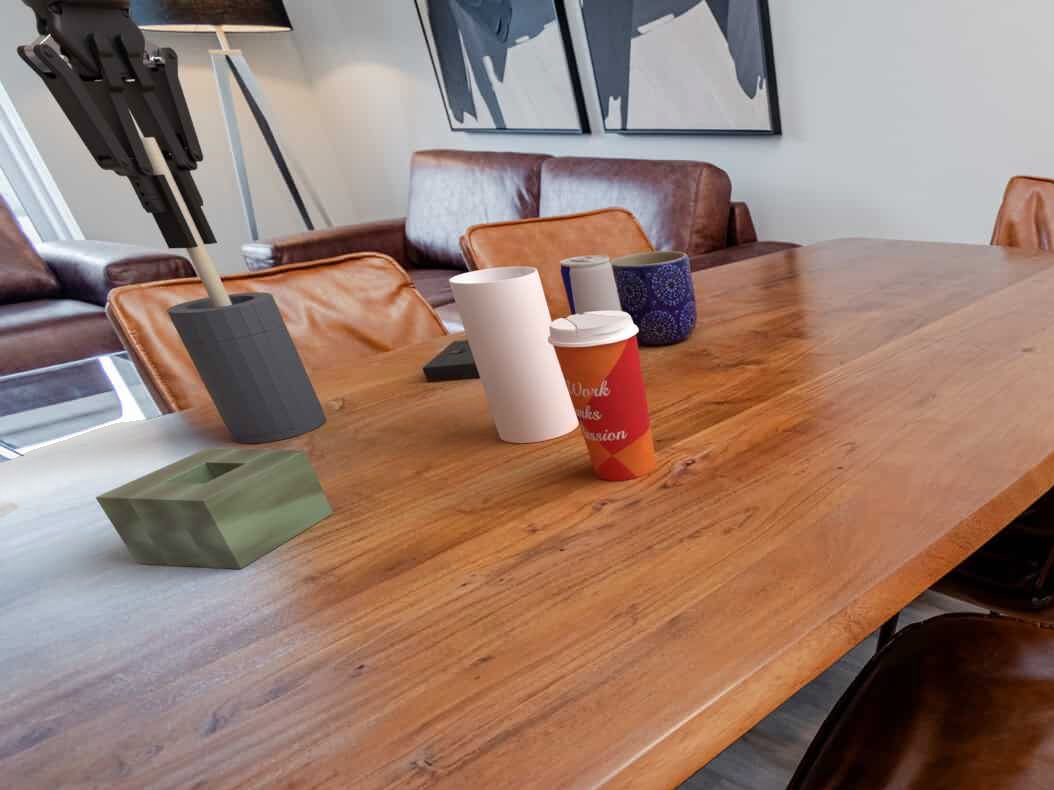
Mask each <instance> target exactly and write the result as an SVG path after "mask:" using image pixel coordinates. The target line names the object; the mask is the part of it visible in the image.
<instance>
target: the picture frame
mask: <svg viewBox="0 0 1054 790" xmlns="http://www.w3.org/2000/svg"><path fill="white" fill-rule="evenodd" d="M422 371H423V373H424V376H425V379H426V382H427V383H435V382H446V381H455V380H456V381H457V380H467V379H468V380H469V379H478V378H479V379H480V376H479V373H478V369H477V366H476V363H475V360H474V357H473V354H472V351H471V348H470V345H469V342H468V339H466V340H465V339H464V340H454V341H452V342H451V343H450V344H448V345H447V346H446V347H445V348H444V349H443V350H442V351H440V352H439V353H438V354H436V356H434V357H433V358H432V359H431V360H429V362H428V363H426V364H425V365H424V366H423V367H422Z"/></svg>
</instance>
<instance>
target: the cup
mask: <svg viewBox="0 0 1054 790" xmlns="http://www.w3.org/2000/svg"><path fill="white" fill-rule="evenodd" d="M448 283H449V286H450V290H451V292H452V293H451V294H452V296H453V299H454V301H455V304H456V308H457V311H458V315H459V317H460V320H461V324H462V326H463V330H464V333H465V336H466V340H468V342H469V345H470V348H471V351H472V354H473V357H474V360H475V363H476V366H477V369H478V373H479V376H480V378H479V379H480V382H481V385H482V387H483V391H484V393H485V397H486V400H487V403H488V406H489V409H490V412H491V415H492V418H493V422H494V424H495V428H496V431H497V433H498V437H499V438H500V440H502V441H504V442H506V443H512V444H533V443H541V442H544V441H550V440H554V439H556V438H560V437H563V436H565V435H567V434H569V433H571V432H573V431H574V430H575V429H576V428H578V426H579V422H578V419H577V416H576V413H575V410H574V407H573V404H572V401H571V398H570V395H569V392H568V389H567V386H566V383H565V380H564V377H563V374H562V371H561V368H560V365H559V362H558V359H557V356H556V353H555V350H554V347H553V345H551V344H550V343H548V337H549V336H550V329H549V326H550V323H551V322H553V321H552V317H551V315H550V311H549V306H548V303H547V300H546V295H545V292H544V288H543V284H542V281H541V276H540V274H539V271H538V268H536V267H532V266H501V267H493V268H485V269H478V270H473V271H468V272H464V273H461V274H457V275H454V276H452V277H450V278H449V279H448Z"/></svg>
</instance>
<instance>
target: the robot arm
mask: <svg viewBox="0 0 1054 790" xmlns="http://www.w3.org/2000/svg"><path fill="white" fill-rule="evenodd" d="M21 2H22V3H23V4H24V6H26V7H28V8H29V9H31V10H32V11H33V13H34V16H35V21H36V23H35V25H36V30H37V33H38V35H39V36H38V37H37V38H36V39H35V40H34V41H33V42H32V43H30V44H24V45H18V46H17V47H16V52H17V54H18V56H19V57H20V59H21V60H22V61H23V62H24V63H25V64H26V65H27V66H28V67H29V68H31V70H32V71H34V73H35V74H36V75H37V76H38V77H39V78H40V79H41V80H42V82H43V83H44V85H45V86H46V88H47V89H48V91H49V93H50V94H51V95H52V97H53V99H54V100H55V102H56V103H57V105H58V106H59V108H60V109H61V110H62V112H63V114H64V115H65V116H66V118H67V120H68V121H69V123H70V124H71V126H72V128H73V129H74V131H75V132H76V133H77V135H78V136H79V138H80V139H81V141H82V143H83V144H84V146H85V147H86V149H87V150H88V152H89V154H90V155H91V156H92V157H93V159H94V161H95V163H96V164H97V165H98V166H99V168H101V169H102V170H104V171H113V172H114V173H115V174H116V175H117V176H120V177H127V179H128V181H129V182H130V185H131V186H132V188H133V190H134V192H135V195H136V197H137V198H138V201H139V202H140V204H141V207H142V209H143V210H144V211H145V212H146V213H147V214H151V215H152V217H153V219H154V221H155V223H156V225H157V227H158V229H159V231H160V233H161V235H162V237H163V239H164V241H165V244H166V245H167V247H168V249H186V248H194V247H198V245H197V243H196V241H195V239H194V237H193V235H192V233H191V230H190V228H189V226H188V224H187V222H186V220H185V218H184V216H183V213H182V211H181V209H180V207H179V205H178V203H177V201H176V199H175V196H174V194H173V192H172V190H171V188H170V186H169V184H168V182H167V179H166V177H165V175H164V174H162V175H152V173H153V168H152V165H151V163H150V160H149V158H148V155H147V153H146V150H145V148H144V145H143V143H142V141H141V138H142V137H143V138H148V137H154V138H155V140H156V142H157V144H158V146H159V149H160V151H161V153H162V155H163V157H164V159H165V161H166V164H167V166H168V168H169V170H170V172H171V174H172V176H173V179H174V181H175V183H176V185H177V187H178V189H179V191H180V194H181V196H182V198H183V200H184V202H185V204H186V206H187V209H188V211H189V213H190V215H191V217H192V219H193V221H194V224H195V226H196V228H197V230H198V232H199V234H200V236H201V239H202V241H203V243H204V245H214V244H218V241H217V238H216V237H215V234H214V232H213V230H212V228H211V226H210V223H209V221H208V218H207V217H206V215H205V212H204V210H203V208H202V207H204V200H203V197H202V195H201V193H200V190H199V189H198V187H197V184H196V182H195V180H194V178H193V175H192V172H191V171H196V170H197V169H198V162H200V163H201V162H203V161H204V153H203V151H202V148H201V145H200V141H199V138H198V135H197V132H196V129H195V125H194V122H193V119H192V116H191V113H190V110H189V106H188V103H187V100H186V97H185V93H184V91H183V87H182V85H181V81H180V79H179V57H178V54H177V52H176V51H175V50H174V49H173V48H172V47H169V46H168V47H161V46H158V45H156V44H155V43H153V42H151V41H150V40H148V39H146V38H145V35H144V33H143V32H142V30H141V28H139V26H138V25H137V24H136V23H135V22H134V20H133V18H132V17H131V14H130V7H131V4H132V1H131V0H21ZM135 123H136V124H135ZM136 125H137V126H136ZM137 127H138V128H137ZM138 129H139V130H140V132H141V135H142V137H141V135H140V133H139V130H138Z"/></svg>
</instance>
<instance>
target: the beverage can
mask: <svg viewBox="0 0 1054 790" xmlns="http://www.w3.org/2000/svg"><path fill="white" fill-rule="evenodd" d="M609 261H610V257H609V256H608V255H600V254H598V255H595V254H593V255H592V254H591V255H581V256H574V257H568V258H565V259H562V260H560V261H559V265H560V273H561V274H560V275H561V278H562V282H563V287H564V290H565V294H566V298H567V301H568V306H569V309H570V314H571V315H575V314H580V315H582V314H583V313H584V312H592V311H622V310H621V305H620V301H619V296H618V292H617V287H616V283H615V278H614V274H613V269H612V265H611V263H610V262H609Z"/></svg>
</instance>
